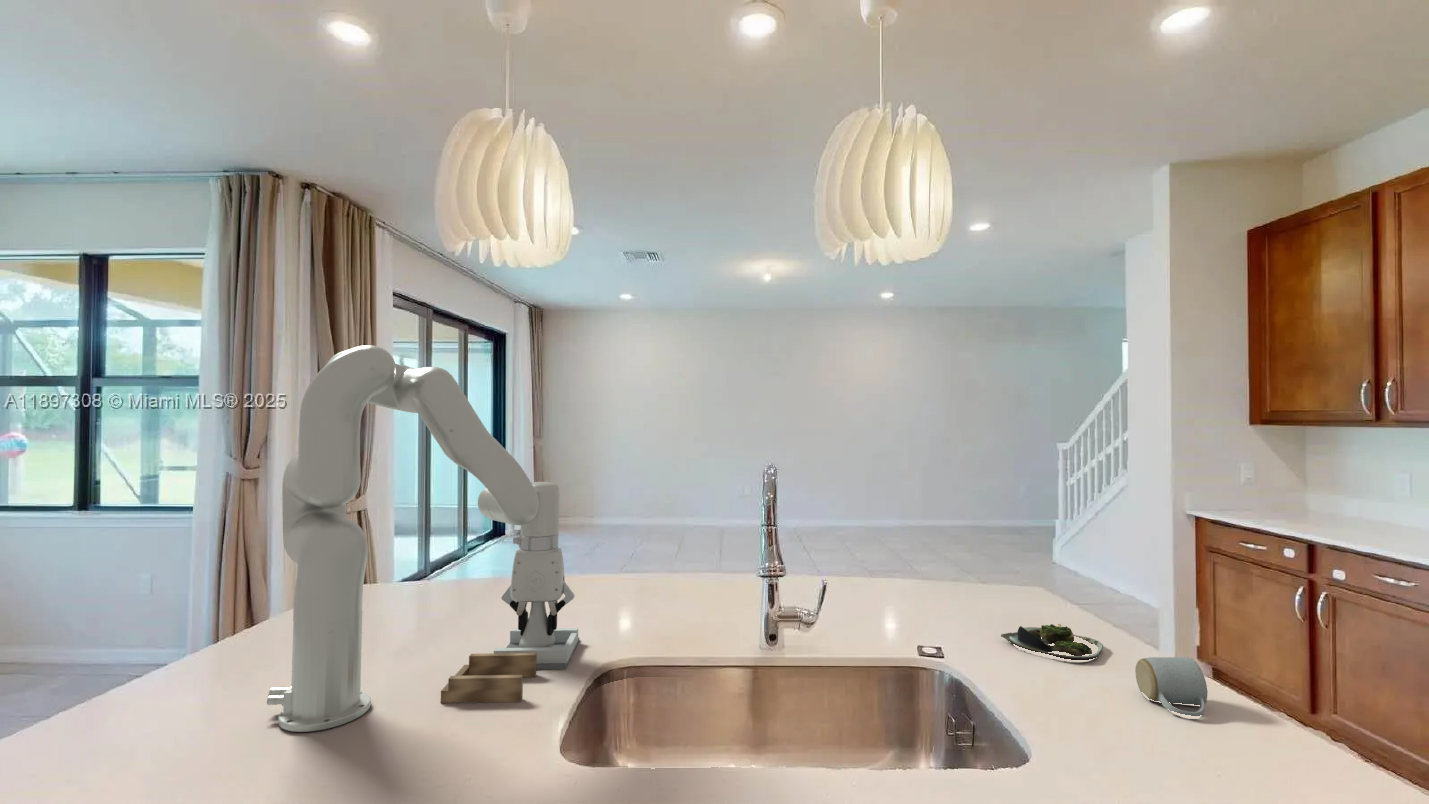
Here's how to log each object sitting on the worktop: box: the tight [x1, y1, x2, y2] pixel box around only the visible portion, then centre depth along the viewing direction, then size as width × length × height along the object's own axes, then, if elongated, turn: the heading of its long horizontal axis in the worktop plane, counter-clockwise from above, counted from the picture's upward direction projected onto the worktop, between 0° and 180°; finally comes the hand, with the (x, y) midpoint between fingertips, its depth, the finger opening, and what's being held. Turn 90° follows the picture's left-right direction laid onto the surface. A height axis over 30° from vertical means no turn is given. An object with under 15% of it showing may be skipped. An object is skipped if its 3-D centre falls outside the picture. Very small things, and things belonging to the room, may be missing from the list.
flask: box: [518, 602, 556, 648], centre depth 127 cm, size 7×7×10 cm
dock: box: [493, 627, 580, 671], centre depth 127 cm, size 14×16×3 cm
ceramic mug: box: [1135, 656, 1209, 716], centre depth 105 cm, size 11×8×8 cm
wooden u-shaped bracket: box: [440, 652, 537, 704], centre depth 110 cm, size 13×11×4 cm
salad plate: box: [1000, 623, 1104, 660], centre depth 134 cm, size 19×18×5 cm
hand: (537, 632), depth 127 cm, fingers closed on flask, 4 cm apart
